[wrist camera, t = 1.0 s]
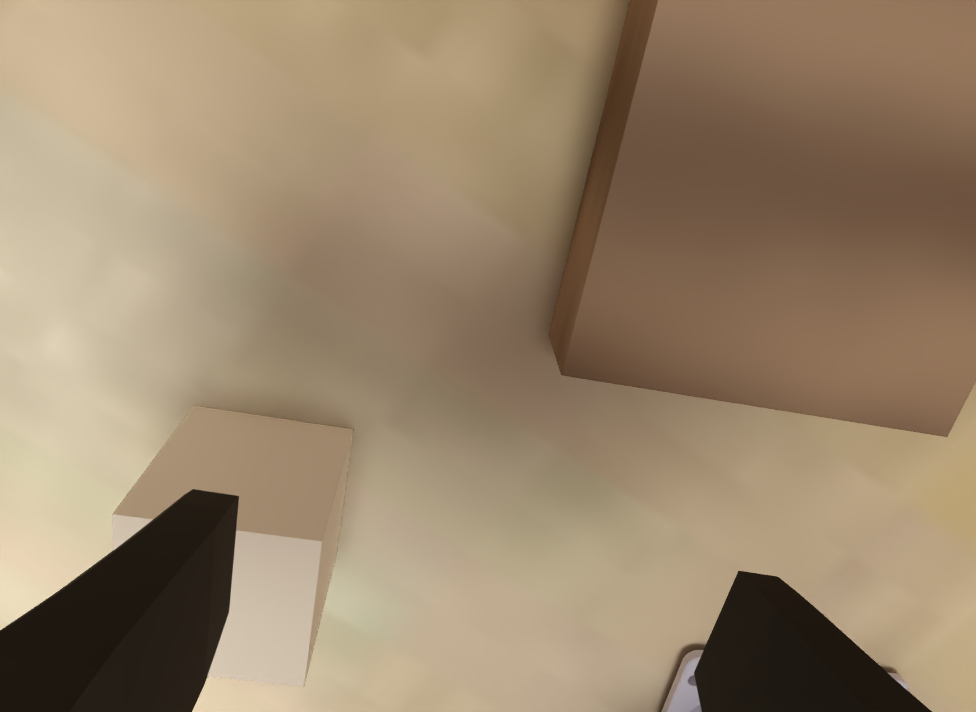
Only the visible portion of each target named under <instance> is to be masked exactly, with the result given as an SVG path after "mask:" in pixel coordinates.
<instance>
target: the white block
mask: <svg viewBox="0 0 976 712" xmlns="http://www.w3.org/2000/svg"><path fill="white" fill-rule="evenodd" d="M353 430H354V429H348V428H341V427H334V426H327V425H321V424H314V423H307V422H301V421H294V420H287V419H280V418H274V417H267V416H260V415H254V414H247V413H240V412H233V411H227V410H220V409H213V408H207V407H200V406H193V407H192V409H191V410H190V411H189V413H188V414H187V415H186V417H185V418H184V419H183V421H182V422H181V423H180V425H179V426H178V427H177V429H176V430H175V431H174V433H173V434H172V435H171V437H170V438H169V439H168V441H167V442H166V443H165V445H164V446H163V447H162V449H161V450H160V451H159V453H158V454H157V455H156V457H155V458H154V459H153V461H152V462H151V463H150V465H149V466H148V467H147V469H146V470H145V471H144V473H143V474H142V475H141V477H140V478H139V479H138V481H137V482H136V483H135V485H134V486H133V487H132V489H131V490H130V491H129V493H128V494H127V495H126V497H125V498H124V499H123V501H122V502H121V503H120V505H119V506H118V507H117V509H116V510H115V511H114V513H113V514H112V521H113V550H115V549H116V548H117V547H119V546H120V545H121V544H123V543H124V542H125V541H126V540H128V539H129V538H130V537H132V536H133V535H134V534H135V533H137V532H138V531H139V530H140V529H142V528H143V527H144V526H146V525H147V524H148V523H149V522H151V521H152V520H153V519H154V518H156V517H157V516H158V515H159V514H161V513H162V512H163V511H164V510H166V509H167V508H168V507H169V506H171V505H172V504H173V503H174V502H176V501H177V500H178V499H179V498H181V497H182V496H183V495H185V494H186V493H188V492H189V491H191V490H192V489H196V490H203V491H209V492H216V493H223V494H229V495H236V496H239V503H238V515H237V526H236V538H235V550H234V561H233V573H232V584H231V596H230V608H229V614H228V617H227V620H226V623H225V626H224V629H223V632H222V635H221V638H220V641H219V644H218V647H217V650H216V653H215V655H214V658H213V661H212V664H211V667H210V670H209V673H208V676H207V677H216V678H225V679H235V680H244V681H253V682H263V683H272V684H281V685H290V686H300V687H304V685H305V681H306V677H307V673H308V669H309V665H310V661H311V657H312V653H313V649H314V644H315V640H316V636H317V632H318V628H319V624H320V620H321V616H322V612H323V608H324V604H325V599H326V595H327V591H328V587H329V583H330V579H331V575H332V571H333V567H334V563H335V559H336V554H337V548H338V541H339V533H340V526H341V519H342V511H343V504H344V497H345V489H346V482H347V474H348V467H349V460H350V452H351V445H352V437H353Z"/></svg>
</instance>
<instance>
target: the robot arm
mask: <svg viewBox="0 0 976 712" xmlns="http://www.w3.org/2000/svg"><path fill="white" fill-rule="evenodd" d="M238 503H239V496H236V495H229V494H223V493H216V492H209V491H203V490H196V489H192V490H191V491H189V492H188V493H186V494H185V495H183V496H182V497H181V498H179V499H178V500H177V501H176V502H174V503H173V504H172V505H171V506H169V507H168V508H167V509H166V510H164V511H163V512H162V513H161V514H159V515H158V516H157V517H156V518H154V519H153V520H152V521H151V522H149V523H148V524H147V525H146V526H144V527H143V528H142V529H140V530H139V531H138V532H137V533H135V534H134V535H133V536H132V537H130V538H129V539H128V540H126V541H125V542H124V543H123V544H121V545H120V546H119V547H117V548H116V549H115V550H113V551H112V552H111V553H109V554H108V555H107V556H105V557H104V558H103V559H101V560H100V561H99V562H97V563H96V564H95V565H93V566H92V567H91V568H89V569H88V570H86V571H85V572H84V573H82V574H81V575H80V576H78V577H77V578H76V579H74V580H73V581H72V582H70V583H69V584H68V585H66V586H65V587H63V588H62V589H61V590H59V591H58V592H56V593H55V594H54V595H52V596H51V597H49V598H48V599H46V600H45V601H43V602H42V603H40V604H39V605H37V606H36V607H34V608H33V609H31V610H30V611H28V612H27V613H26V614H24V615H23V616H21V617H20V618H18V619H17V620H15V621H14V622H12V623H11V624H9V625H8V626H6V627H5V628H3V629H2V630H0V712H192V710H193V708H194V706H195V704H196V702H197V699H198V697H199V695H200V693H201V691H202V688H203V686H204V684H205V681H206V678H207V676H208V673H209V670H210V667H211V664H212V661H213V658H214V655H215V653H216V650H217V647H218V644H219V641H220V638H221V635H222V632H223V629H224V626H225V623H226V620H227V617H228V614H229V608H230V596H231V584H232V573H233V561H234V550H235V538H236V526H237V515H238ZM692 675H694V676H692ZM662 712H932V711H930V710H929V709H928V708H927V707H926V706H925V705H923V704H922V703H921V702H920V701H919V700H918V699H917V698H915V697H914V696H913V695H912V694H911V693H910V692H909V691H908V685H907V683H906V682H905V680H904V679H903V677H901V676H900V675H899V674H896V673H889V672H886V671H885V670H884V669H883V668H882V667H880V666H879V665H878V664H877V663H876V662H875V661H874V660H873V659H872V658H870V657H869V656H868V655H867V654H866V653H865V652H864V651H863V650H862V649H860V648H859V647H858V646H857V645H856V644H855V643H854V642H853V641H852V640H851V639H849V638H848V637H847V636H846V635H845V634H844V633H843V632H842V631H841V630H839V629H838V628H837V627H836V626H835V625H834V624H833V623H832V622H831V621H829V620H828V619H827V618H826V617H825V616H824V615H823V614H822V613H820V612H819V611H818V610H817V609H816V608H815V607H814V606H813V605H811V604H810V603H809V602H808V601H807V600H806V599H804V598H803V597H802V596H801V595H800V594H799V593H797V592H796V591H795V590H794V589H793V588H791V587H790V586H789V585H787V584H786V583H785V582H784V581H782V580H781V579H780V578H778V577H776V576H769V575H763V574H756V573H749V572H743V571H738V574H737V576H736V578H735V580H734V583H733V585H732V587H731V590H730V592H729V594H728V596H727V599H726V601H725V603H724V605H723V608H722V610H721V612H720V614H719V617H718V619H717V621H716V624H715V626H714V628H713V630H712V633H711V635H710V637H709V639H708V642H707V644H706V646H705V649H704V650H694V651H691V652H689V653H688V654H686V655H685V657H684V658H683V660H682V662H681V665H680V667H679V670H678V672H677V675H676V677H675V680H674V682H673V685H672V687H671V689H670V692H669V694H668V697H667V699H666V702H665V704H664V707H663V709H662Z"/></svg>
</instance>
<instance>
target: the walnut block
mask: <svg viewBox="0 0 976 712" xmlns="http://www.w3.org/2000/svg"><path fill="white" fill-rule="evenodd" d="M549 337H550V340H551V343H552V346H553V350H554V353H555V356H556V359H557V362H558V365H559V369H560V372H561V375H564V376H570V377H576V378H582V379H589V380H595V381H601V382H607V383H613V384H620V385H626V386H632V387H638V388H645V389H651V390H657V391H663V392H670V393H676V394H682V395H688V396H694V397H701V398H707V399H713V400H719V401H726V402H732V403H738V404H744V405H751V406H757V407H763V408H769V409H775V410H782V411H788V412H794V413H800V414H807V415H813V416H819V417H825V418H832V419H838V420H844V421H850V422H856V423H863V424H869V425H875V426H881V427H888V428H894V429H900V430H906V431H913V432H919V433H925V434H931V435H937V436H944V437H947V436H948V434H949V432H950V430H951V429H952V427H953V425H954V423H955V421H956V419H957V417H958V415H959V413H960V411H961V409H962V407H963V405H964V403H965V401H966V400H967V398H968V396H969V394H970V392H971V390H972V388H973V386H974V384H975V382H976V0H630V3H629V7H628V11H627V15H626V20H625V24H624V28H623V32H622V36H621V40H620V44H619V48H618V52H617V57H616V61H615V65H614V69H613V73H612V77H611V81H610V85H609V89H608V93H607V98H606V102H605V106H604V110H603V114H602V118H601V122H600V126H599V130H598V135H597V139H596V143H595V147H594V151H593V155H592V159H591V163H590V167H589V172H588V176H587V180H586V184H585V188H584V192H583V196H582V200H581V204H580V208H579V213H578V217H577V221H576V225H575V229H574V233H573V237H572V241H571V245H570V250H569V254H568V258H567V262H566V266H565V270H564V274H563V278H562V282H561V287H560V291H559V295H558V299H557V303H556V307H555V311H554V315H553V319H552V323H551V328H550V332H549Z"/></svg>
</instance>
